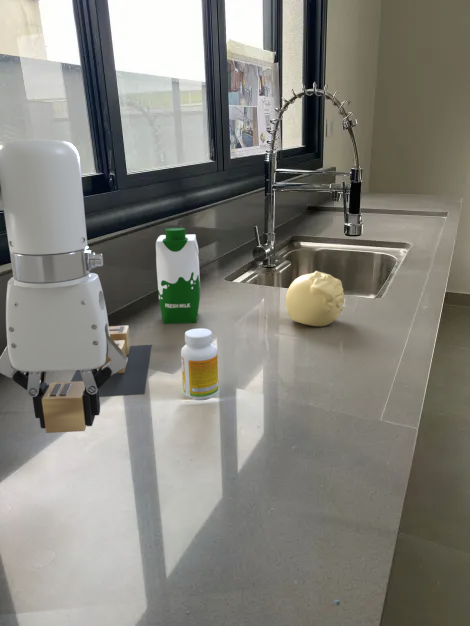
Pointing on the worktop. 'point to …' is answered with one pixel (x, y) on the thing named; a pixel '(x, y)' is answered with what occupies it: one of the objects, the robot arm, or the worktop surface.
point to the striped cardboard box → (64, 407)
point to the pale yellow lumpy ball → (315, 299)
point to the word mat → (127, 374)
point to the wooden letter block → (122, 346)
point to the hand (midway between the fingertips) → (69, 419)
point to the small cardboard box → (120, 335)
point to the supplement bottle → (199, 365)
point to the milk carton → (178, 276)
